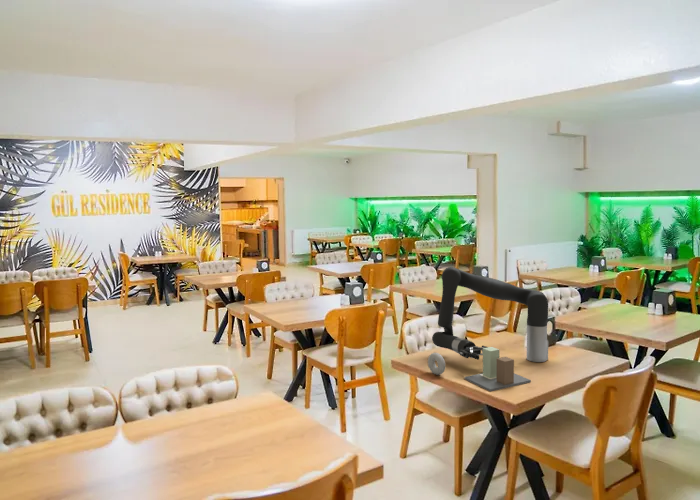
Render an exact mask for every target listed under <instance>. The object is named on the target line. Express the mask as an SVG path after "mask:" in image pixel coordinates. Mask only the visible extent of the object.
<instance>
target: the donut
mask: <svg viewBox="0 0 700 500" xmlns="http://www.w3.org/2000/svg"><path fill="white" fill-rule="evenodd" d="M436 362H437V365H436ZM427 366H428V369H429V370H430V372H431V373H432V374H433V375H435V374H436V375H437V376H440V375H443V373H444V372H445V370H446V360H445V359H444V357H443V355H441V353H439V352H431V354H430V355H429V356H428V359H427Z"/></svg>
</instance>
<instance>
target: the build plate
mask: <svg viewBox="0 0 700 500" xmlns="http://www.w3.org/2000/svg"><path fill="white" fill-rule="evenodd" d="M463 378H464V379H463V380H465V381H468V382H470V383H472V384H474V385H476V386H477V387H480V388H482V389H484V390H486V391H488V392H494V391H499V390H503V389H508V388H511V387H517V386H521V385H525V384H530V383H531V382H532V381H531V379H530V378H527V377H524V376H521V375H519V374H517V373H515V360H514V358H510V357H508V356H502V357H499V358H497V377H494V378H489V377H486V376H484V375H483V372H482V373H477V374H472V375H468V376H463Z"/></svg>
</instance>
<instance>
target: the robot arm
mask: <svg viewBox="0 0 700 500" xmlns="http://www.w3.org/2000/svg"><path fill="white" fill-rule="evenodd" d="M441 281H442V282H441V283H442V292H441V293H442V295H441V301H440V305H439V313H438V320H437V325H438V326H439V327H440V328H443V331H436V332H435V333H433V334H432V338H431V340H432V343H433V344H434V345H435V346H436V347H438V348H443V349H446V350H447V349H448V350H450V351H453V352H455V354H456V353H457V354H458V355H459V356H460V357H463V358H465V359H469V358H470V359H475V360H477V361H479V360H480V356H483V348H488V347H489V346H485V345H481V346H478V345H477V346H476V344H475V342H473V341H472V340H468V339H466V338H463V337H458V336H457V335H454V329H453V320H454V312H455V311H454V309H455V298H456V293H457V289H458V287H462V288H465V289H469V290H471V291H473V292H476V293H477V294H479V295H481V296H485V297H488V298H491V299H494V300H495V299H496V300H499V301H507V302H508V301H510V302H511V301H512V302H515V303H519V304H521V305H525V306H527V317H526V360H527V361H529V362H533V363H544V362H547V360H549V339H548V320H549V300H548V297H547V296H546V295H545V294H544V293H543V292H542V291H539V290H535V289H529V288H525V287H521V286H520V287H519V286H516V285H513V284H511V283H509V282H506V281H502V280H500V279H496V278H491V277H488V276H483V275H477V274H473V273H469V272H466V271H464V270H461V269H459V268H457V267H454V266H449V267H446V268H445V269H444V270H443V271H442V273H441Z"/></svg>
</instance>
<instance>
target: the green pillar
mask: <svg viewBox="0 0 700 500" xmlns="http://www.w3.org/2000/svg"><path fill="white" fill-rule="evenodd" d="M487 347H488V348H483V355H482V373H483V375H484V376H486V377H489V378H494V377H497V358H500V349H499V348H497V347H493V346H487Z"/></svg>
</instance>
